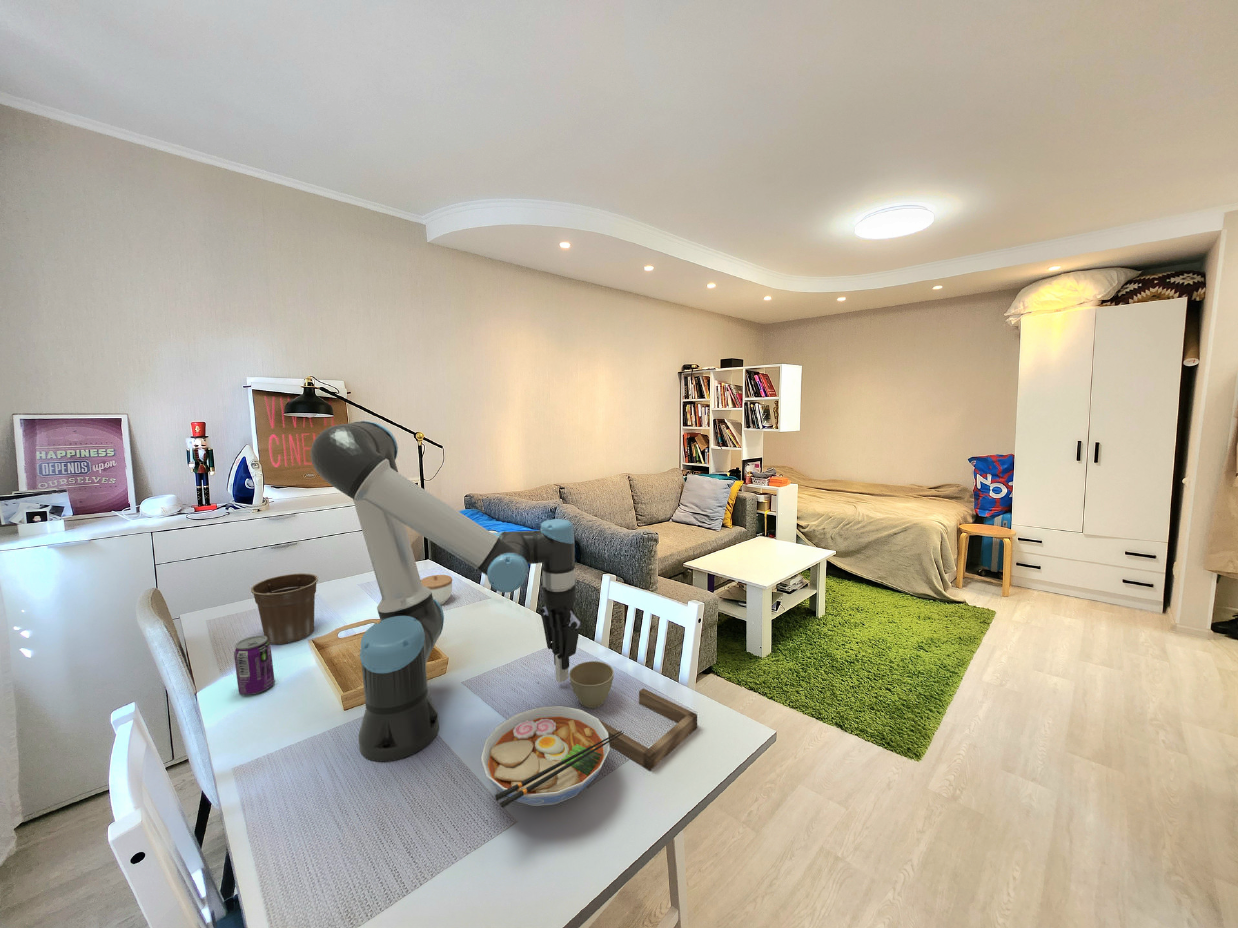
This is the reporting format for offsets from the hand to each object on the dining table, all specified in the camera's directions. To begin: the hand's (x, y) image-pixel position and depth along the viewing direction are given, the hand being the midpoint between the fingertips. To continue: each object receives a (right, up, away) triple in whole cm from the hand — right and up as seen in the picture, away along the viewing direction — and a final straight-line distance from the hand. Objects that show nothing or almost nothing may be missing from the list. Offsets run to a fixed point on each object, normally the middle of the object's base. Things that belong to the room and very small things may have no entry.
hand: (562, 679), depth 121 cm
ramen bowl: (+1, -6, -30) cm, 30 cm away
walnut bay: (+19, -4, -16) cm, 25 cm away
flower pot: (+8, -3, -6) cm, 10 cm away
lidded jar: (-48, +5, +49) cm, 69 cm away
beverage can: (-74, -2, 0) cm, 74 cm away
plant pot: (-83, +1, +27) cm, 87 cm away
